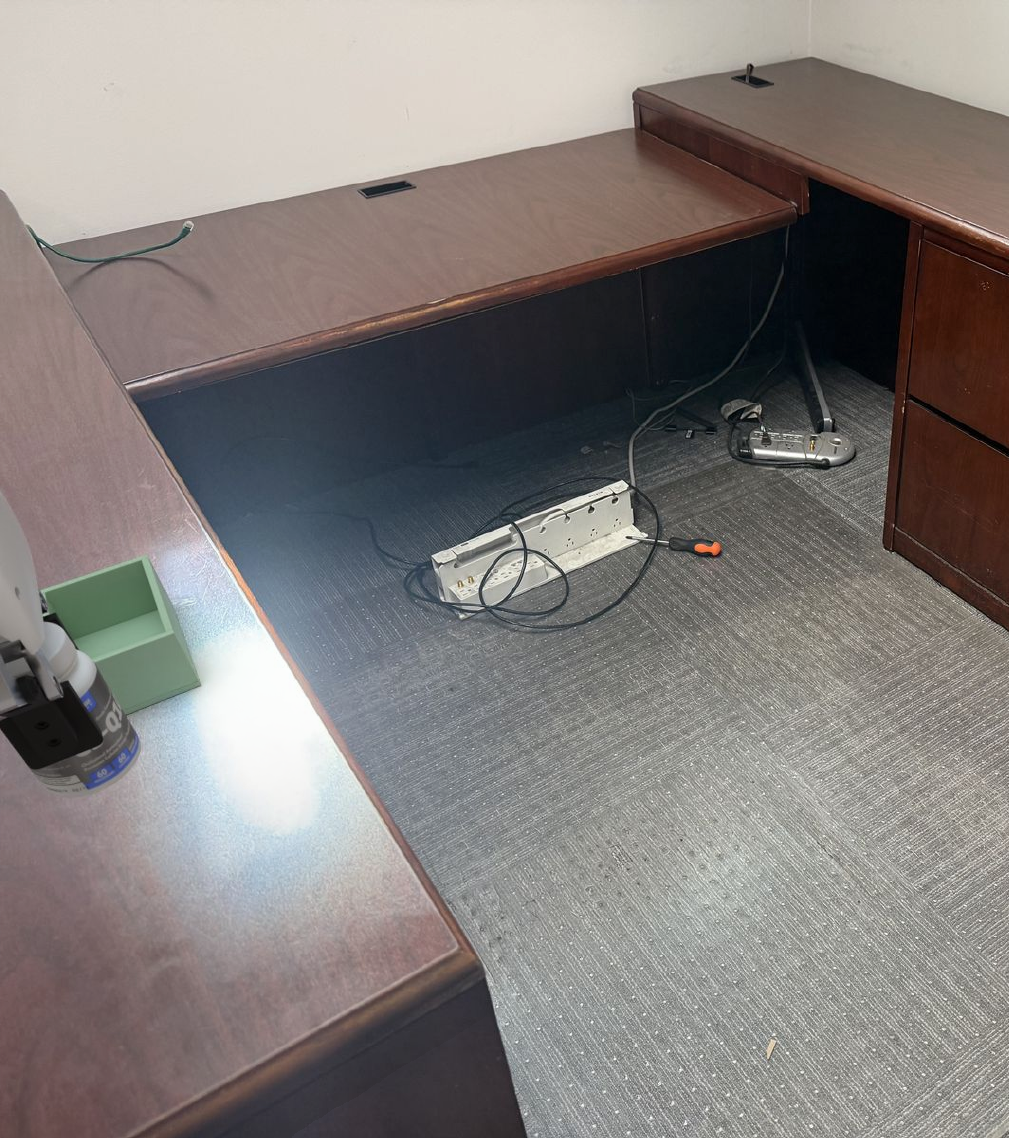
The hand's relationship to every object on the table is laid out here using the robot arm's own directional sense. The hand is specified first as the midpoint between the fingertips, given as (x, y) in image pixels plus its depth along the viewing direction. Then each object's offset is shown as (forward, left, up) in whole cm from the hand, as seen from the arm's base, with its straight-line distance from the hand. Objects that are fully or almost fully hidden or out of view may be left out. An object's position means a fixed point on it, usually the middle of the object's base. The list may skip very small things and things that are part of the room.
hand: (61, 714), depth 52 cm
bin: (+6, +25, -18) cm, 32 cm away
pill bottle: (0, 0, -4) cm, 4 cm away
